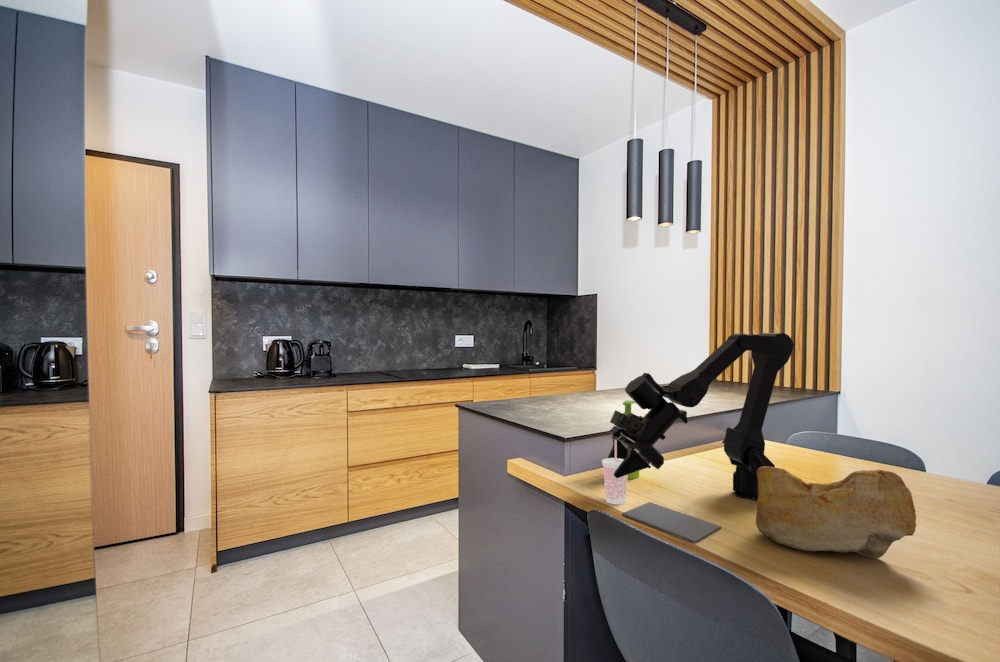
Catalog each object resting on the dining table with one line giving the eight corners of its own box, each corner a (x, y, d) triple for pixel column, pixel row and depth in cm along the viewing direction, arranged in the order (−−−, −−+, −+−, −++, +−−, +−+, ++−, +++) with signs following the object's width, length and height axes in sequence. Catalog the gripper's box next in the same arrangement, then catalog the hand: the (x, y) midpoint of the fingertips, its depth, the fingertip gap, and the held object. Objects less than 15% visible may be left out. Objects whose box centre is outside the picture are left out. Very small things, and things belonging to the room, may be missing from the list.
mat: (721, 528, 87) (721, 526, 87) (695, 543, 81) (695, 541, 81) (649, 503, 100) (649, 501, 100) (622, 514, 94) (622, 513, 94)
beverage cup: (616, 494, 106) (616, 435, 106) (635, 502, 101) (635, 441, 101) (596, 498, 103) (596, 438, 103) (614, 507, 98) (614, 444, 98)
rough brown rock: (890, 540, 85) (884, 460, 86) (928, 575, 70) (921, 478, 71) (750, 521, 94) (747, 450, 96) (758, 549, 80) (754, 464, 81)
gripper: (617, 393, 112) (574, 438, 110) (650, 405, 93) (599, 459, 92) (647, 424, 112) (605, 468, 111) (685, 442, 94) (635, 496, 93)
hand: (609, 472), depth 102 cm, fingers closed on beverage cup, 6 cm apart
